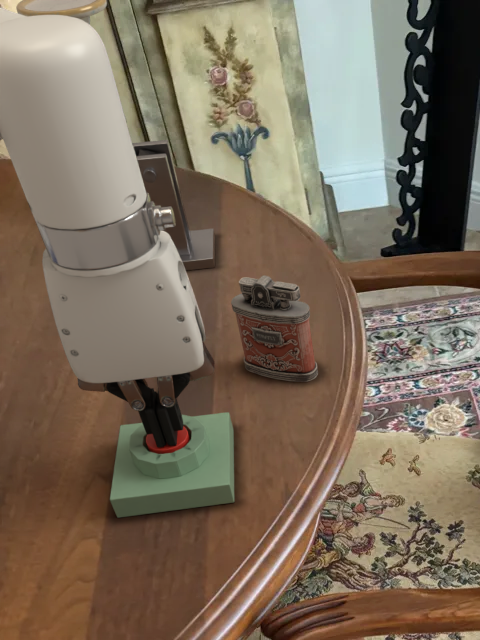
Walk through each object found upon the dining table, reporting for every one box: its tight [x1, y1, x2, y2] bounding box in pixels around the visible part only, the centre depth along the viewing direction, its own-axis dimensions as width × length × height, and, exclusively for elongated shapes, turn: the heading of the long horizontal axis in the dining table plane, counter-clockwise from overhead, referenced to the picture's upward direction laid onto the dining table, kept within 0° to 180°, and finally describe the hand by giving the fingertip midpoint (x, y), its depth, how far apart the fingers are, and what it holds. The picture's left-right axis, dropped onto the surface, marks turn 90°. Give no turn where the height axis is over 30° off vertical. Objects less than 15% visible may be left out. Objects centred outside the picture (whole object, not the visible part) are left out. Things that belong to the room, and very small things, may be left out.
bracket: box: [132, 139, 216, 271], centre depth 93 cm, size 10×8×13 cm
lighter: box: [230, 274, 319, 383], centre depth 77 cm, size 8×3×10 cm, turn 70°
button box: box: [109, 411, 235, 519], centre depth 69 cm, size 10×10×4 cm
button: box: [146, 426, 190, 454], centre depth 68 cm, size 4×4×2 cm
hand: (168, 436), depth 68 cm, fingers closed
